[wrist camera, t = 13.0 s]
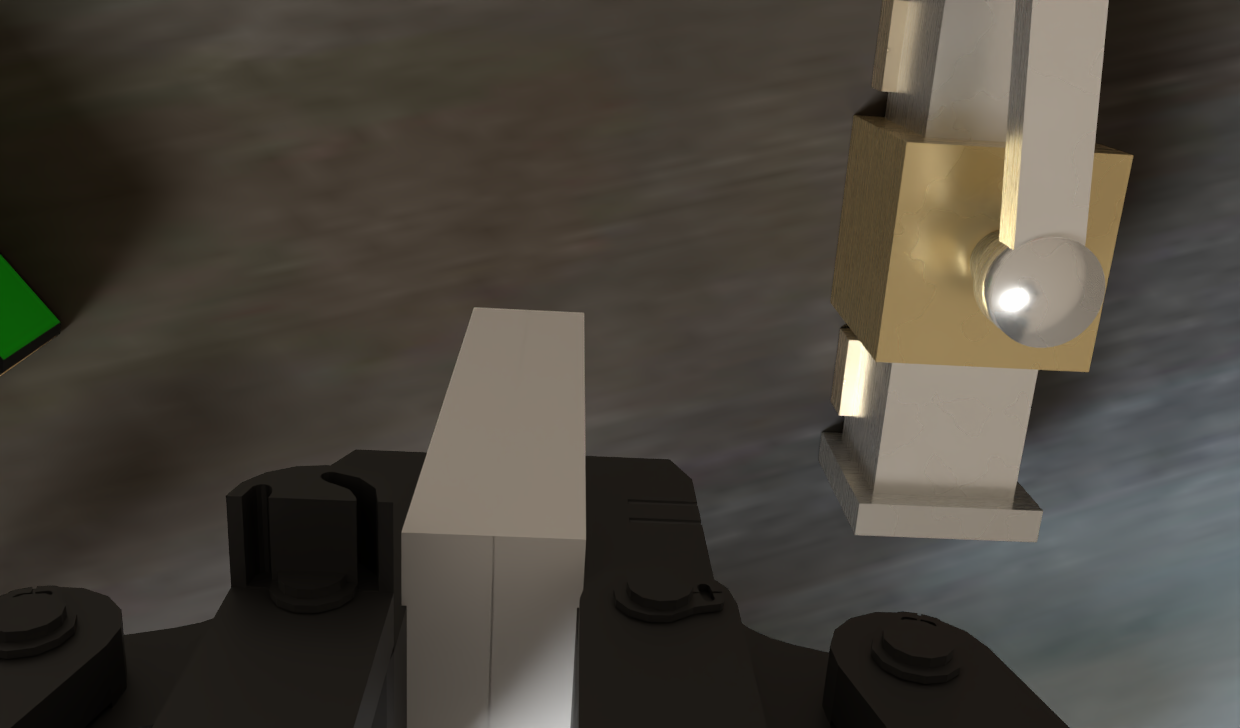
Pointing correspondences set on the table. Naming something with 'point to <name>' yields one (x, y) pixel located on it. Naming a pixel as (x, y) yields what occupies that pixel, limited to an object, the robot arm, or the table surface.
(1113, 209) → the valve pipe
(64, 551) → the table surface
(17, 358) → the puzzle cube
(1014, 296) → the valve lever
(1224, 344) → the table surface
